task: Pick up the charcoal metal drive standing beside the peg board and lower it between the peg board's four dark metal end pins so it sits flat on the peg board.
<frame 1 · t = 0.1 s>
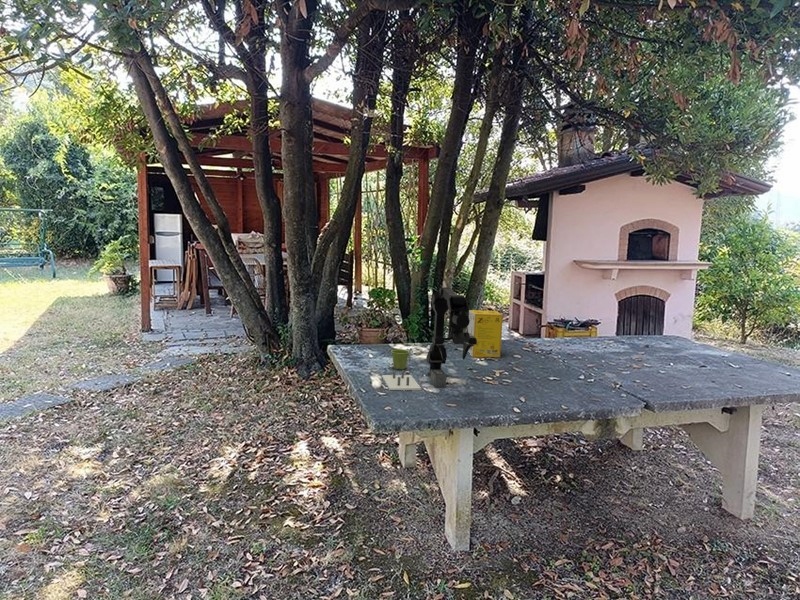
hand: (453, 359, 230), 15 cm above the table, tool pointing down, fingers open, 9 cm apart
plant pot: (399, 368, 270), on the table
peg board: (400, 383, 242), on the table
drive: (437, 384, 243), on the table
packaging box: (482, 354, 311), on the table
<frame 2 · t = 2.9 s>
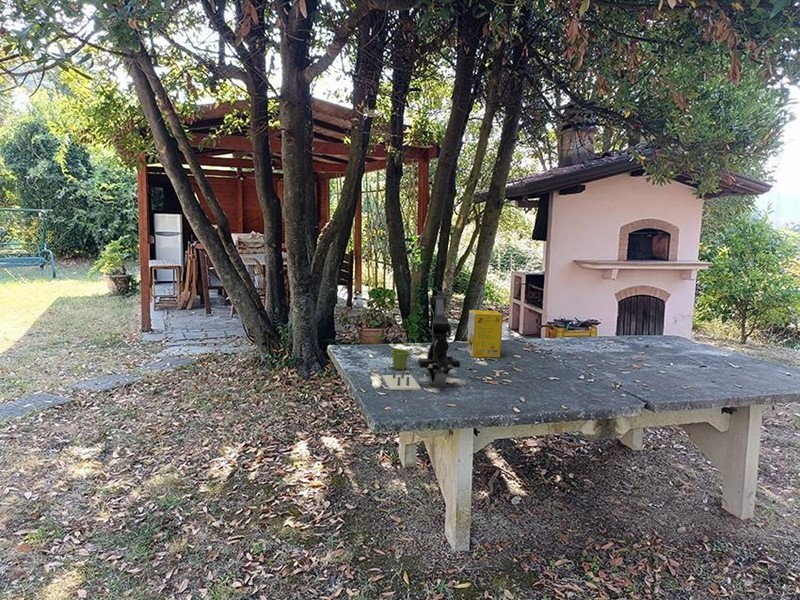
hand: (437, 381, 243), 1 cm above the table, tool pointing down, fingers closed on drive, 5 cm apart
drive: (437, 384, 243), on the table, touching gripper
everything else where it was.
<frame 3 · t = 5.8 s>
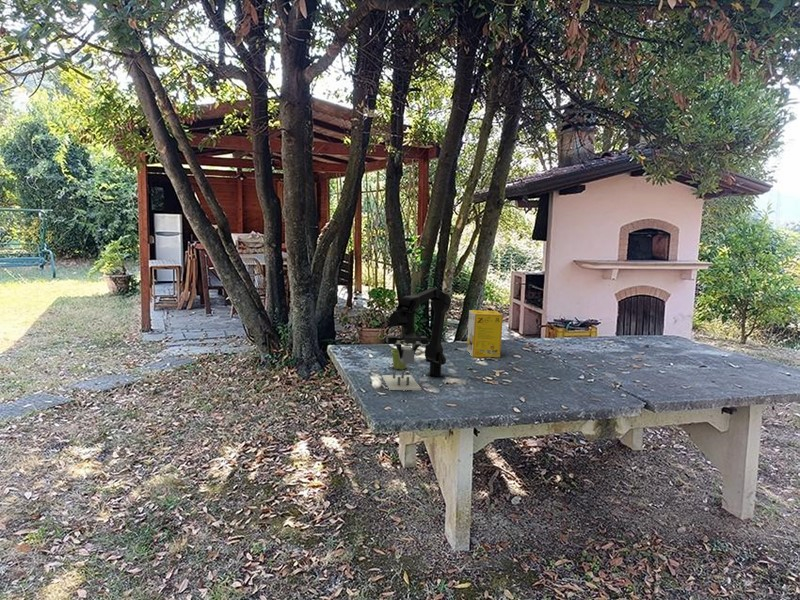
hand: (406, 358, 240), 12 cm above the table, tool pointing down, fingers closed on drive, 5 cm apart
drive: (406, 361, 240), point 10 cm above the table, touching gripper
everything else where it was.
when the fingers open (4 cm above the table, at t = 8.7 s): drive drops 1 cm, resting on peg board.
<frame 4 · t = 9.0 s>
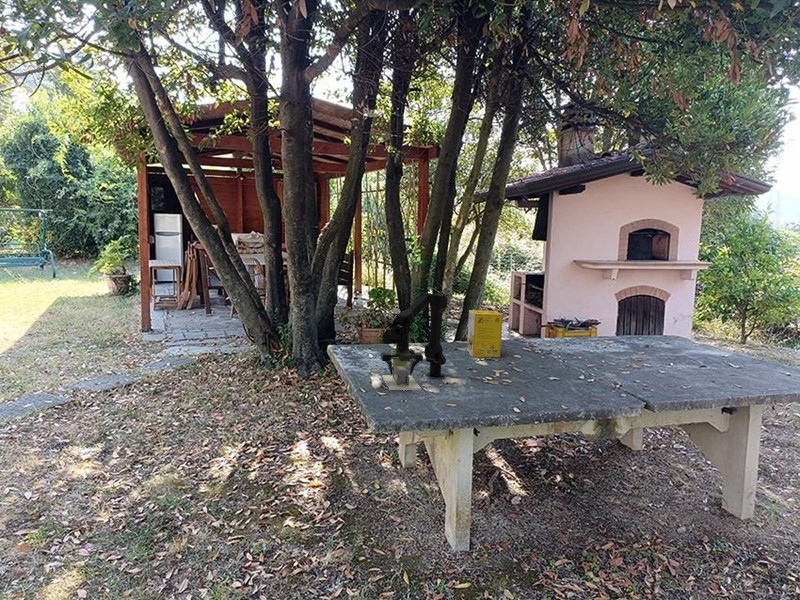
hand: (401, 375, 241), 4 cm above the table, tool pointing down, fingers open, 8 cm apart
drive: (400, 381, 242), point 1 cm above the table, touching peg board
everything else where it was.
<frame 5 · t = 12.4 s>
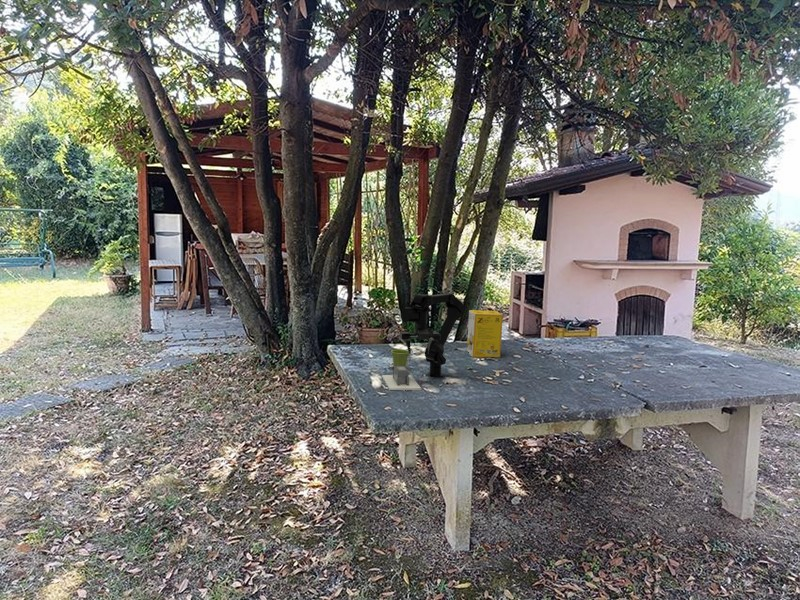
hand: (419, 353, 250), 12 cm above the table, tool pointing down, fingers open, 9 cm apart
nothing on the table moved.
at the end: drive 0.1 cm off-centre on the peg board, point 1.0 cm above the peg board's base; drive tilted 0°; the gripper is holding nothing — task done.
